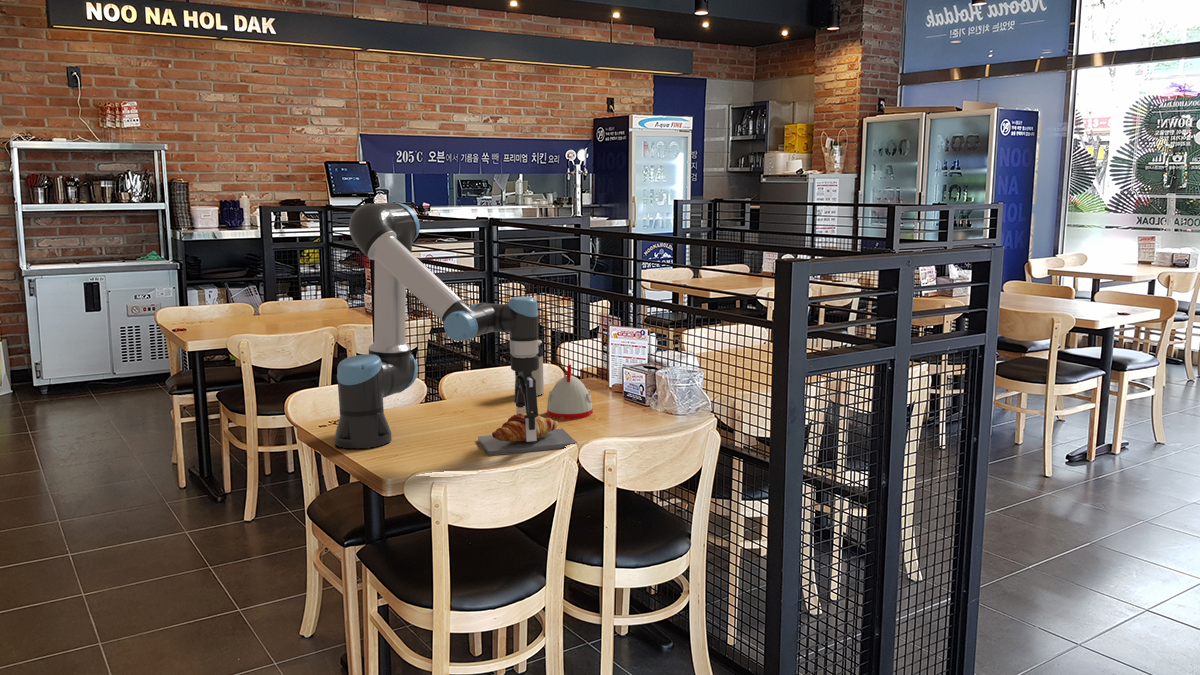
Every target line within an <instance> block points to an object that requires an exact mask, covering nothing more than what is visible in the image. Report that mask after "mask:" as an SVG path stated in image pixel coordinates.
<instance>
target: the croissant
mask: <svg viewBox="0 0 1200 675" xmlns="http://www.w3.org/2000/svg"><path fill="white" fill-rule="evenodd" d="M525 415H526V414H524V413H520V414H516V413H515V414H513V415H511V416H510V417H509V418H508V420H507V421H505V422H504V423H503V424H502V425H501V427H497V429H496V430H495V431H493V432H491V435H492V436H493V438H495V439H498V440H500V441H508V442H515V441H526V419H525V418H524V416H525ZM558 426H559V422H558V420H553V419H552V418H551V417H543V416H541V415H539V414H538V417H536V435H537V438H539V437H541V436H543V435H544V434H547V433H549V432H550V431H553V430H554V429H558Z"/></svg>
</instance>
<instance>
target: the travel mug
mask: <svg viewBox="0 0 1200 675" xmlns="http://www.w3.org/2000/svg"><path fill="white" fill-rule="evenodd" d="M538 342H540V345H538V354H536V355H538V356H539V368H538V370H535V371H532V377H534V379H535V380H536V396H537V397H539V396H538V395H540V396H542V395H544V394H545V393H544V392H545V390H544V388H545V387H544V351H543V348H542V343H543V342H542V340H540V339H538ZM543 393H544V394H543ZM541 394H542V395H541Z"/></svg>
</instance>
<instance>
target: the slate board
mask: <svg viewBox="0 0 1200 675" xmlns="http://www.w3.org/2000/svg"><path fill="white" fill-rule="evenodd" d="M477 441H478V443H479V444H480V446H481V447H482V449H483V450H484V452H485V453H486V454H487V456H489V457H490V456H501V455H509V454H511V455H512V454H520V453H530V452H541V451H548V450H558V449H559V450H560V448H561V449H563V448H562V447H565V446H567V445H570V444H575V443H577V444H578V441H576V439H574V438H573V437H572V436H571V435H570V434H569V433H568V432H567V431H566V430H565V429H564V428H556V429H554V430H553V431H550V432H549V433H547V434H544V435H543V436H541V437H539V438H537V441H530V442H526V441H515V442H508V441H500V440H498V439H495V438H493V436H492V434H490V435H478V436H477Z"/></svg>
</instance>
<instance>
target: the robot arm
mask: <svg viewBox="0 0 1200 675" xmlns="http://www.w3.org/2000/svg"><path fill="white" fill-rule="evenodd" d="M348 225H349V226H348V229H349V234H350V237H351V239H352V241H353V242H354V244H355V245H356V246H357V248H359V250H360V251H361V252H362V253H363V254H364V255H365V256H366V257H367V258H368V259H369V260H372V261H374V286H373V287H374V288H373V289H374V294H373V296H374V298H373V299H374V302H373V303H374V305H373V306H374V308H373V309H374V311H373V313H374V315H373V316H374V317H373V318H374V321H373V323H374V325H373V327H374V328H373V329H374V330H373V331H374V332H373V336H374V337H373V343H371V344H370V345H369V346H368V353H367V354H365V353H364V354H363V353H362V354H358V355H352V356H349V357H345V358H344V359H342V360H341V361H339V363H338V365H337V374H336V380H337V389H338V390H337V391H338V402H339V403H338V404H339V419H338V421H337V422H338V423H337V425H336V426H337V427H336V429H335V433H334V445H335V444H336V445H337V446H340V447H345V448H368V449H370V448H369V447H374V448H377V447H376V446H379V445H383V446H385V445H387V444H386V443H388V442H389V443H391V442H392V440H393V439H392V436H393V435H392V431H391V428H390V425H389V423H388V422H389V421H387V417H386V415H385V411H384V410H385V409H384V398H387V397H389V396H393V395H395V394H399V393H402V392H403V391H405V390H407V389H408V388H410V387H411V386H412V385H413V384H414V382H416V379H417V377H418V372H419V370H418V369H419V368H418V366H419V365H418V362H417V360H416V359H415V357H414V354H412V353H411V346H410V345H409V344H408V343H407V342H406V312H407V311H406V309H407V308H406V305H407V304H406V303H407V301H406V296H407V294H406V293H407V292H406V291H407V290H408V291H409V292H411V293H412V294H413V295H414V296H415V297H416V298H417V299H418V300H419V301H420V302H421V303H422V304H423V305H425V307H426V308H428V310H430V312H432V313H433V315H435V316H436V317H437V318H438V319H439V320H441V321H442V323H443V328H444V332H445V334H446V336H447V337H448V338H449V339H451V340H453V341H455V342H462V341H468V340H472V339H473V338H476V337H478V336H482V335H486V334H488V333H509V351H510V352H509V353H510V355H511V356H510V369H511V370H512V371H513V372H514V377H515V378H514V379H515V380H514V383H515V384H514V396H513V397H514V400H513V401H514V404H515V407H516V413H515V415H516V414H520V413H524V414H526V415H525V416H524V418H525V419H526V442H530V441H537V435H536V417H538V415H539V407H538V400H537V397H538V396H536V380H535V379H534V377H532V371H535V370H538V368H539V356H538V355H536V354H538V345H540V342H538V340H539V311H538V309H539V308H538V300H537V299H536V298H535V297H532V296H514V297H513V296H512V297H511V298H510V299H509V300H508V303H506V304H504V303H503V304H502V303H490V302H489V303H488V302H487V303H486V302H477V303H476V302H475V303H472V304H470V305H468V304H467V303H466V302H465V301H464V300H462V298H460V297H459V296H458V295H457V294H456V293H455V292H454V291H453V290H452V289H451V288H450V287H449V286H448V285H446V284H445V282H443V280H441V279H440V278H439V277H438V276H436V275H435V273H434V272H433V271H431V269H429V268H428V267H427V265H425V264H424V263H423V262H422V261H421V260H420V259H418V257H416V256H415V254H413V253H412V252H413V250H412V249H413V247H412V246H413V242H414V241H416V239H417V238H418V237H419V233H420V230H421V229H420V227H421V226H420V221H419V218H418V216H417V214H416V212H415V211H414V210H413V209H412V207H410V206H409V205H406V204H404V203H400V202H394V201H393V202H382V203H366V204H363V205H361V206H359V207H357V209H355V210H354V211H353V213H352V214H351V216H350V219H349V222H348ZM390 441H391V442H390ZM389 443H388V444H389ZM384 444H385V445H384ZM336 445H335V446H336ZM337 446H336V447H337ZM340 447H339V448H340ZM379 447H380V446H379Z"/></svg>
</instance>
